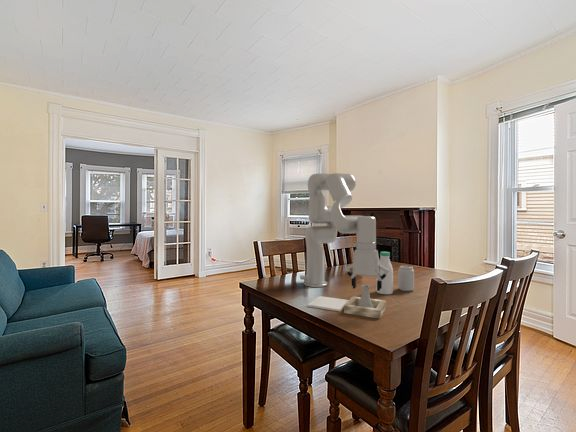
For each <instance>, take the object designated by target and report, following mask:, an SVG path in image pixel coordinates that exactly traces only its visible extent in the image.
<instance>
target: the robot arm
mask: <svg viewBox="0 0 576 432" xmlns="http://www.w3.org/2000/svg"><path fill="white" fill-rule="evenodd" d="M356 185H357V184H356V179H355V176H354V175H352V174H350V173H339V172H338V173H337V172H336V173H335V172H334V173H325V172H324V173H323V172H322V173H320V172H319V173H314V174H311V175H310V176H309V177H308V180H307V190H308V194H309V195H308V196H309V202H308V203H309V206H308V220H309V222H310V223H311V224H325V225H312V226H308V227H306V229H305V230H304V231H305V232H304V237H305V244H306V274H305V275H303V274H302V275H299V276H300V277H299V279H300V280H302V281H303V280H304V281H303V285H304V286H306V287H311V288H322V287H326V286H328V281H326V280H325V249H324V248H323V246H322V245H321V244H332V243H334V242H336V240H337V238H338V237H337V236H338V232H339V233H340V234H343V235H344V234H356V242H355V243H353V244H352V247H354V248H355V250H354V252H353V259H352V263H351V264H348V265H347V266H345V267H344V269H345V271H346V274H347V275H348V276H349V277H350V278H351V286H352V289H354V290H355V289H356V288H357V277H356V276H366V277H375V278H377V279H378V281H377V291H380V289H381V288H382V280H383V279H384V278H385V277H386V275H387V274H388V272H389V270H388V269H386V268H385V267H383V266H381V265H380V264H379V261H380V257H379V256H380V254H379V250H378V249H377V220H376V217H375V216H371V215H367V216H366V215H344V214H343V212H342V210H341V209H342V208H344V207H346V206H348V205H349V204H351V202H352V200H353V195H352V193H351V192H352V191H354V189H355V187H356ZM323 191H328V192H329V195H330V196H331V198H332V201H333V203H332V204H333V205H326V200H327V199H326V195H325V193H324V192H323ZM351 268H352V271H351ZM380 269H381V270H383V271H384V274H383V275H382V276H381V275H380V274H379V272H380ZM377 291H376V292H377Z"/></svg>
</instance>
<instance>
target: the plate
mask: <svg viewBox="0 0 576 432" xmlns="http://www.w3.org/2000/svg"><path fill="white" fill-rule="evenodd" d="M349 300H350V299H343V298H337V297H329V296H324V295H323V296H320V295H318V296H317V297H316V298H314V299H313V300H312V301H310V302H309V303H308V304H307V308H308V307H309V308H315V309H322V310H326V311H327V310H328V311H335V312H341V311H342V310H344V305H345V304H346V303H347V302H348V301H349Z"/></svg>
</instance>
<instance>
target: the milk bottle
mask: <svg viewBox="0 0 576 432" xmlns="http://www.w3.org/2000/svg"><path fill="white" fill-rule="evenodd" d="M379 256H380V257H379V264H380V265H381V266H383V267H385V268H386V269H388V270H389V272H388V274H387V275H386V277H385V278H384V279H383V280H382V288H381V289H380V291H377V281H378V279H377V278H376V277H375V278H376V281H375V282H376V283H375V284H376V288H375V289H376V293H377V294H380V295H392V294H393V293H394V292H393V291H394V270H393V269H394V268H393V265H392V263H391V259H390V257H391V252H390V251H380V253H379ZM379 274H380V275H381V276H382V275H383V274H384V271H383V270H381V269H380V272H379Z"/></svg>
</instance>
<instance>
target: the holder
mask: <svg viewBox="0 0 576 432" xmlns="http://www.w3.org/2000/svg"><path fill="white" fill-rule="evenodd" d="M360 298H361V296H351V297H350V298H349V299H348V300H349V301H348V302H347V303H346V304H345V305H344V307H343V314H349V315H355V316H361V317H367V318H375V319H380V320H381V318H382V316H383V315H384V312H385V310H386V308H387V300H383V299H378V298H371V302H372V305H373V307H374V308H369V307H362V306H358V304H359V301H360Z"/></svg>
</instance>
